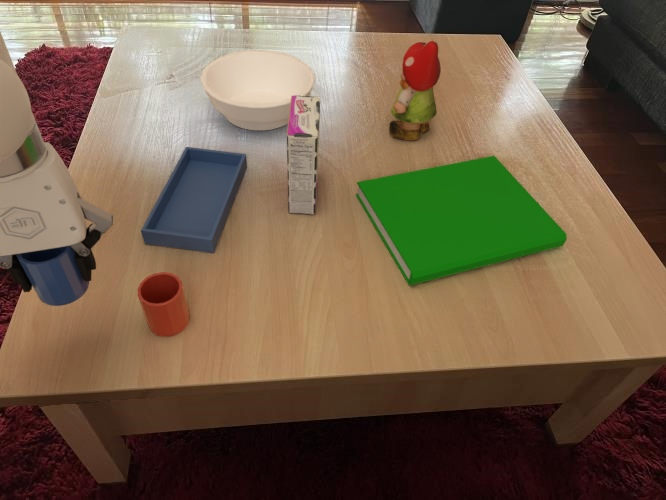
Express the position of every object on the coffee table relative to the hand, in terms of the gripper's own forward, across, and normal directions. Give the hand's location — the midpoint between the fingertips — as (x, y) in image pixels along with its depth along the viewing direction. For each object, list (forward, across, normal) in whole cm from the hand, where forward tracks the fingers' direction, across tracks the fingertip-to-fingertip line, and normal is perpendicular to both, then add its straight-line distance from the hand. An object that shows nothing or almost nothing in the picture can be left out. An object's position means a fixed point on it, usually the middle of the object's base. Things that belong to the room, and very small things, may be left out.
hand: (58, 276), depth 61 cm
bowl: (+12, +33, +50) cm, 61 cm away
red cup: (+13, +10, +1) cm, 17 cm away
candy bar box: (+13, +35, +23) cm, 44 cm away
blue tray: (+13, +18, +25) cm, 33 cm away
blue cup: (+2, 0, 0) cm, 2 cm away
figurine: (+12, +62, +38) cm, 73 cm away
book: (+13, +59, +10) cm, 61 cm away
